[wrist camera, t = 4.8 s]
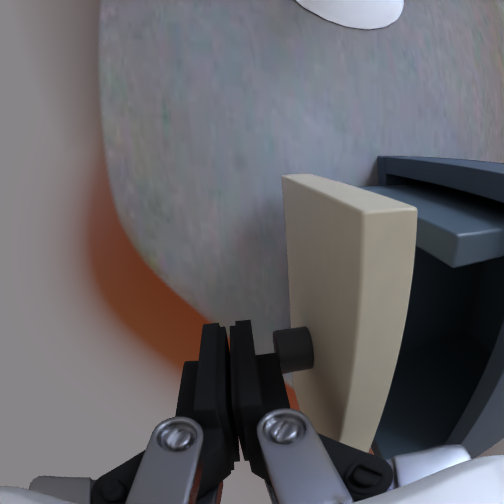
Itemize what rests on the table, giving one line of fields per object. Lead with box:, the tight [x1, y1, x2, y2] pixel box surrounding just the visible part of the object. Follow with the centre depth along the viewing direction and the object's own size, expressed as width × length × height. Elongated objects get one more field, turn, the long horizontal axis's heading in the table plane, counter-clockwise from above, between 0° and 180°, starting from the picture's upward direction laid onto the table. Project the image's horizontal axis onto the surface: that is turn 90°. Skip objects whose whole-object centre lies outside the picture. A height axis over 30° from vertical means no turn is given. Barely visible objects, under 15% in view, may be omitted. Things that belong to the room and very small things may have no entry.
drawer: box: [273, 173, 504, 460], centre depth 10 cm, size 14×11×8 cm
